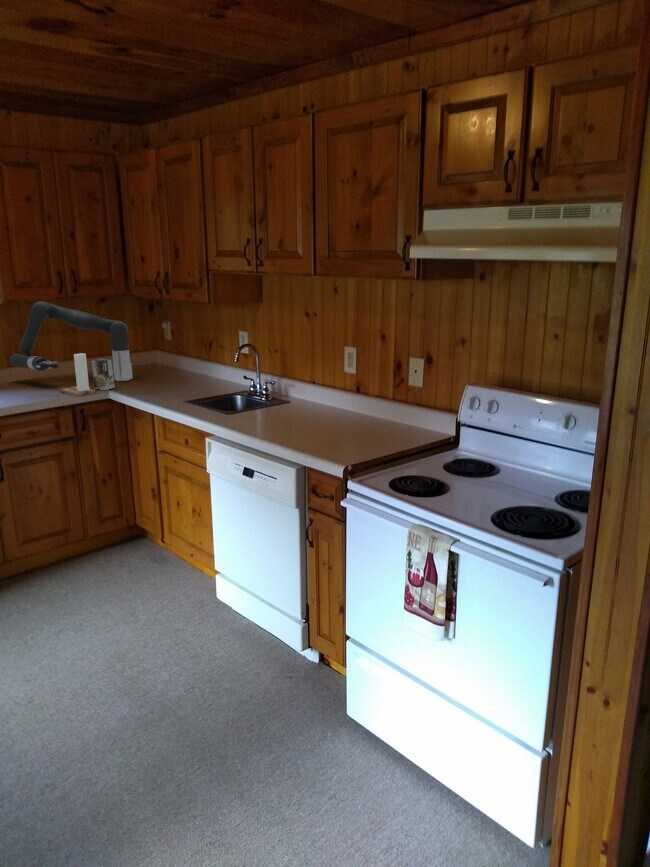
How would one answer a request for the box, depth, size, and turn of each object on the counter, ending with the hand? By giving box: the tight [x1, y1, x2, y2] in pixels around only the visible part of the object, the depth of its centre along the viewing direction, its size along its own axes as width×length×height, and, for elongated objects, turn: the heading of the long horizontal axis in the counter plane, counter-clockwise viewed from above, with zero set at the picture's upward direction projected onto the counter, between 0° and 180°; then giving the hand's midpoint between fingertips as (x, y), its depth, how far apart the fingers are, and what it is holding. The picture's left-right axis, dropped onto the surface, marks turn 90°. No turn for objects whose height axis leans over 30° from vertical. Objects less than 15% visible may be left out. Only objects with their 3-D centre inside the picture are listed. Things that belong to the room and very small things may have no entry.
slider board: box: [58, 385, 97, 397], centre depth 347 cm, size 10×17×2 cm, turn 56°
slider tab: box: [73, 352, 91, 392], centre depth 341 cm, size 5×4×19 cm
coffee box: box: [91, 358, 116, 391], centre depth 354 cm, size 9×6×16 cm
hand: (57, 366), depth 352 cm, fingers closed
